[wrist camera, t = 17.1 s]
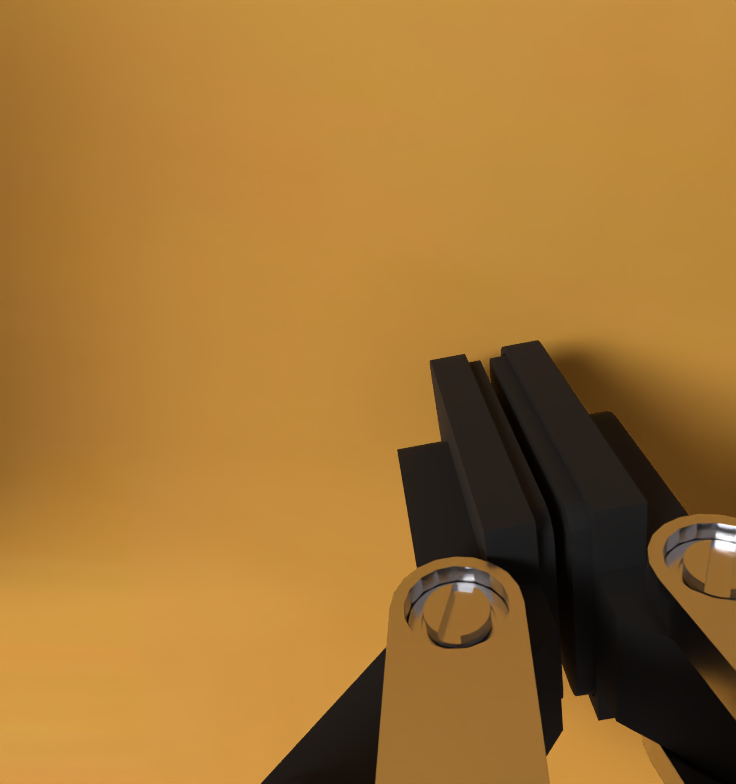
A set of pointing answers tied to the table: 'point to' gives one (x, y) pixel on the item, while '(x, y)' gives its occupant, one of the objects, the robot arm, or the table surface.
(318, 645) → the table surface
